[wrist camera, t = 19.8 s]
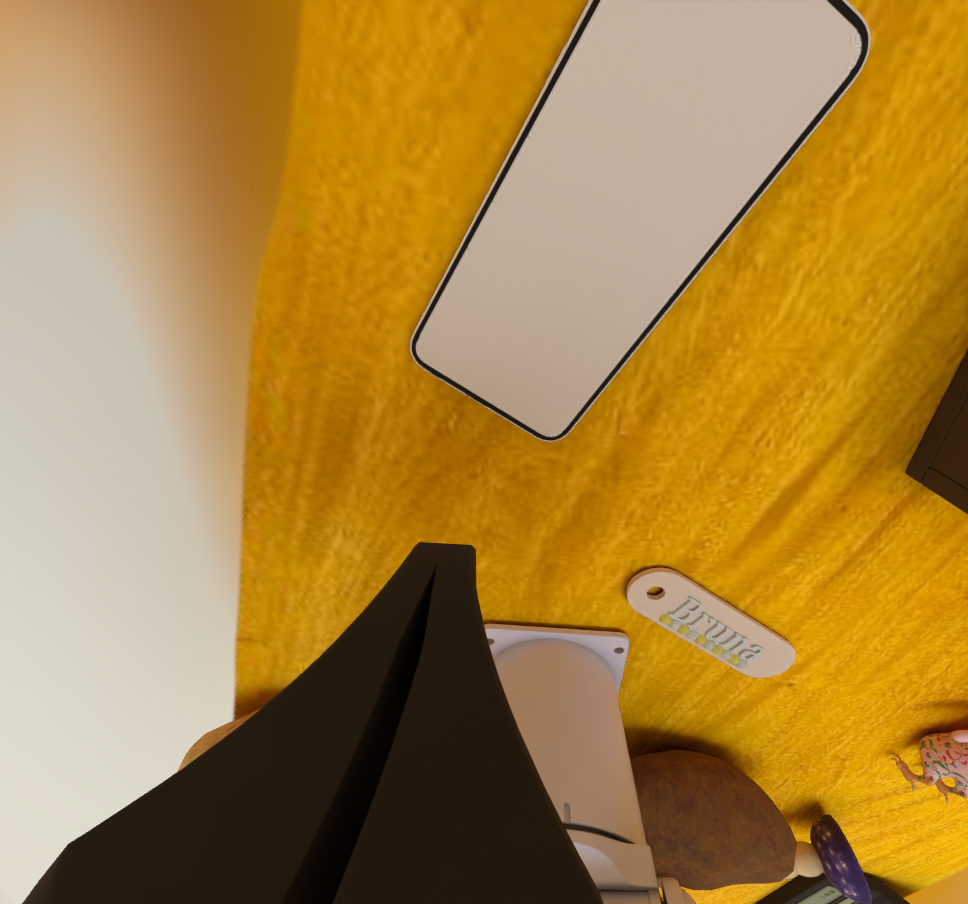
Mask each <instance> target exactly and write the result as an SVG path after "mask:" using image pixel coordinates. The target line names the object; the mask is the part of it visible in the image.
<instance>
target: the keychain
mask: <svg viewBox="0 0 968 904" xmlns="http://www.w3.org/2000/svg"><path fill="white" fill-rule="evenodd" d="M652 587H661V588H663V589H664V590H663V592H662V593H660V594H659V595H654V596H653V595H649V594H647V591H648V590H649V589H650V588H652ZM626 595H627V600H628V602H629V604H630V606H631V607H632V608H633V609H634V610H636V611H637V612H638V613H640V614H642V615H643V616H645V617H647V618H649V619H650V620H652V621H654V622H655V623H657V624H659V625H660V626H662V627H664V628H666V629H667V630H669V631H671V632H672V633H674V634H676V635H677V636H679V637H681V638H683V639H684V640H686V641H688V642H689V643H691V644H693V645H695V646H696V647H698V648H700V649H701V650H703V651H705V652H706V653H708V654H710V655H712V656H713V657H715V658H717V659H718V660H720V661H722V662H723V663H725V664H727V665H729V666H730V667H732V668H734V669H735V670H737V671H739V672H740V673H742V674H745V675H747V676H750V677H756V678H764V677H771V676H775V675H778V674H780V673H782V672H784V671H786V670H787V669H788V668H790V667H791V666H792V664H793V663H794V661H795V658H796V653H795V650H794V648H793V647H792V645H791V644H790V643H789V642H788V641H787V640H786V639H784V638H783V637H781V636H780V635H778V634H776V633H775V632H773V631H772V630H770V629H768V628H767V627H765V626H764V625H762V624H760V623H759V622H757V621H756V620H754V619H752V618H751V617H749V616H748V615H746V614H744V613H743V612H741V611H740V610H738V609H736V608H735V607H733V606H732V605H730V604H728V603H727V602H725V601H724V600H722V599H720V598H719V597H717V596H716V595H714V594H712V593H711V592H709V591H708V590H706V589H704V588H703V587H701V586H700V585H698V584H696V583H695V582H693V581H692V580H690V579H688V578H687V577H685V576H684V575H682V574H680V573H679V572H677V571H674V570H672V569H668V568H651V569H648V570H645V571H642V572H640V573H638V574H637V575H635V576H634V577H633V578H632V579H631V580H630V582H629V583H628V586H627V588H626Z"/></svg>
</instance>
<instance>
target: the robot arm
mask: <svg viewBox="0 0 968 904" xmlns="http://www.w3.org/2000/svg"><path fill="white" fill-rule="evenodd" d="M488 638H491V639H488ZM629 645H630V641H629V637H628V636H627V635H626V634H625V633H621V632H609V631H594V630H579V629H564V628H549V627H534V626H519V625H504V624H485V625H484V624H483V619H482V615H481V610H480V605H479V601H478V595H477V589H476V549H475V548H474V547H473V546H472V545H461V544H442V543H424V542H419V543H418V544H417V545H415V547H414V548H413V549H412V551H411V552H410V554H409V555H408V556H407V558H406V559H405V560H404V562H403V563H402V564H401V566H400V567H399V568H398V570H397V571H396V572H395V573H394V575H393V576H392V577H391V579H390V580H389V581H388V582H387V584H386V585H385V586H384V587H383V588H382V590H381V591H380V592H379V593H378V594H377V595H376V597H375V598H374V599H373V600H372V601H371V603H370V604H369V605H368V606H367V607H366V608H365V610H364V611H363V612H362V613H361V614H360V615H359V616H358V617H357V618H356V619H355V621H354V622H353V623H352V624H351V625H350V626H349V627H348V628H347V629H346V630H345V631H344V632H343V633H342V634H341V635H340V637H339V638H338V639H337V640H336V641H335V642H334V643H333V644H332V645H331V646H330V647H329V648H328V649H327V650H326V651H325V652H324V653H323V654H322V655H321V656H320V657H319V658H318V659H317V660H316V661H314V662H313V663H312V664H311V665H310V666H309V667H308V668H307V669H306V670H305V671H304V672H303V673H302V674H300V675H299V676H298V677H297V678H296V679H295V680H294V681H293V682H292V683H290V684H289V685H288V686H287V687H286V688H285V689H283V690H282V691H281V692H280V693H279V694H278V695H276V696H275V697H274V698H273V699H272V700H271V701H269V702H268V703H267V704H266V705H265V706H263V707H262V708H261V709H260V710H259V711H257V712H256V713H255V714H254V715H253V716H251V717H250V718H249V719H248V720H246V721H245V722H244V723H243V724H241V725H240V726H239V727H237V728H236V729H235V730H234V731H232V732H231V733H229V734H228V735H227V736H225V737H224V738H223V739H221V740H220V741H219V742H217V743H216V744H215V745H213V746H212V747H211V748H209V749H208V750H207V751H205V752H204V753H203V754H201V755H200V756H199V757H197V758H196V759H194V760H193V761H192V762H190V763H189V764H188V765H186V766H185V767H184V768H182V769H181V770H180V771H178V772H177V773H175V774H174V775H172V776H171V777H170V778H168V779H167V780H165V781H164V782H163V783H161V784H160V785H158V786H157V787H155V788H153V789H152V790H150V791H149V792H148V793H146V794H144V795H143V796H141V797H140V798H138V799H137V800H135V801H134V802H132V803H131V804H129V805H128V806H126V807H125V808H123V809H122V810H120V811H119V812H117V813H116V814H114V815H113V816H111V817H109V818H108V819H106V820H105V821H103V822H102V823H100V824H99V825H97V826H96V827H94V828H93V829H91V830H90V831H88V832H87V833H85V834H84V835H82V836H80V837H79V838H77V839H76V840H74V841H72V842H71V843H69V844H68V845H67V846H66V848H65V849H64V850H63V852H62V853H61V854H60V855H59V856H58V858H57V859H56V860H55V861H54V863H53V864H52V865H51V866H50V868H49V869H48V870H47V871H46V873H45V874H44V875H43V876H42V878H41V879H40V880H39V882H38V883H37V885H36V886H35V887H34V888H33V890H32V891H31V892H30V894H29V895H28V897H27V898H26V899H25V901H24V902H23V903H22V904H662V903H661V899H660V894H659V889H658V884H657V879H656V874H655V869H654V864H653V859H652V854H651V849H650V847H649V846H648V845H647V844H646V839H645V834H644V829H643V824H642V819H641V814H640V808H639V803H638V798H637V793H636V788H635V783H634V778H633V773H632V768H631V763H630V758H629V753H628V748H627V742H626V737H625V732H624V727H623V722H622V717H621V712H620V707H619V702H618V694H619V690H620V685H621V681H622V676H623V672H624V667H625V663H626V659H627V654H628V650H629ZM617 647H619V648H617ZM660 878H661V886H662V892H663V898H664V904H696V903H695V901H694V900H693V899H692V897H691V896H690V895H689V894H688V893H687V892H686V891H685V890H684V889H681V887H680V885H679V882H678V881H677V880H676V879H675V878H672V877H660Z"/></svg>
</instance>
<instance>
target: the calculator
mask: <svg viewBox="0 0 968 904" xmlns="http://www.w3.org/2000/svg"><path fill="white" fill-rule="evenodd" d="M865 878H866V881H867V883H868V885H869V889H870V892H871V896H872V903H871V904H910V903H908V902H907V901H906V900H904V899H903V898H902V897H901V896H899V895H898V894H897V893H896V892H894V891H893V890H892V889H890V888H889V887H888V886H887V885H885V884H884V883H883V882H881V881H878V880H875V879H872V878H869V877H866V876H865ZM756 904H866V903H860V902H856V901H853V900H851V899H849V898H847V897H846V896H844V895H843V894H842V893H840V892H839V891H838V890H837V889H836V888H835V887H833V885H832V884H831V883H830V882H829V880H828V879H827V877H826V876H825V875H824V873H821V874H820V875H818V876H815V877H806V876H802V875H801V876H799V877H798V878H796V879H794V880H793V881H791V882H790V883H788V884H786V885H785V886H783V887H782V888H780V889H779V890H777V891H775V892H774V893H772V894H771V895H769V896H767V897H766V898H764V899H763V900H761V901H759V902H758V903H756Z"/></svg>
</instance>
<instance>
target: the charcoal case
mask: <svg viewBox="0 0 968 904" xmlns="http://www.w3.org/2000/svg"><path fill="white" fill-rule="evenodd" d="M906 474H907V475H909V476H910V477H912V478H913V479H915V480H916V481H918V482H920V483H922V485H924V486H926V487H927V488H929V489H930V490H932V491H933V492H935V493H936V494H938V495H939V496H941V497H942V498H944V499H945V500H947V501H948V502H950V503H951V504H953V505H954V506H956V507H958V508H959V509H961V510H962V511H964V512H965V513H967V514H968V353H967V355H966V357H965V359H964V360H963V362H962V364H961V366H960V368H959V370H958V372H957V374H956V376H955V378H954V380H953V382H952V384H951V386H950V388H949V390H948V392H947V393H946V395H945V397H944V399H943V401H942V403H941V405H940V407H939V409H938V411H937V413H936V415H935V417H934V419H933V421H932V423H931V425H930V427H929V428H928V430H927V432H926V434H925V436H924V438H923V440H922V442H921V444H920V446H919V448H918V450H917V452H916V454H915V456H914V458H913V460H912V461H911V463H910V465H909V467H908V469H907V471H906Z"/></svg>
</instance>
